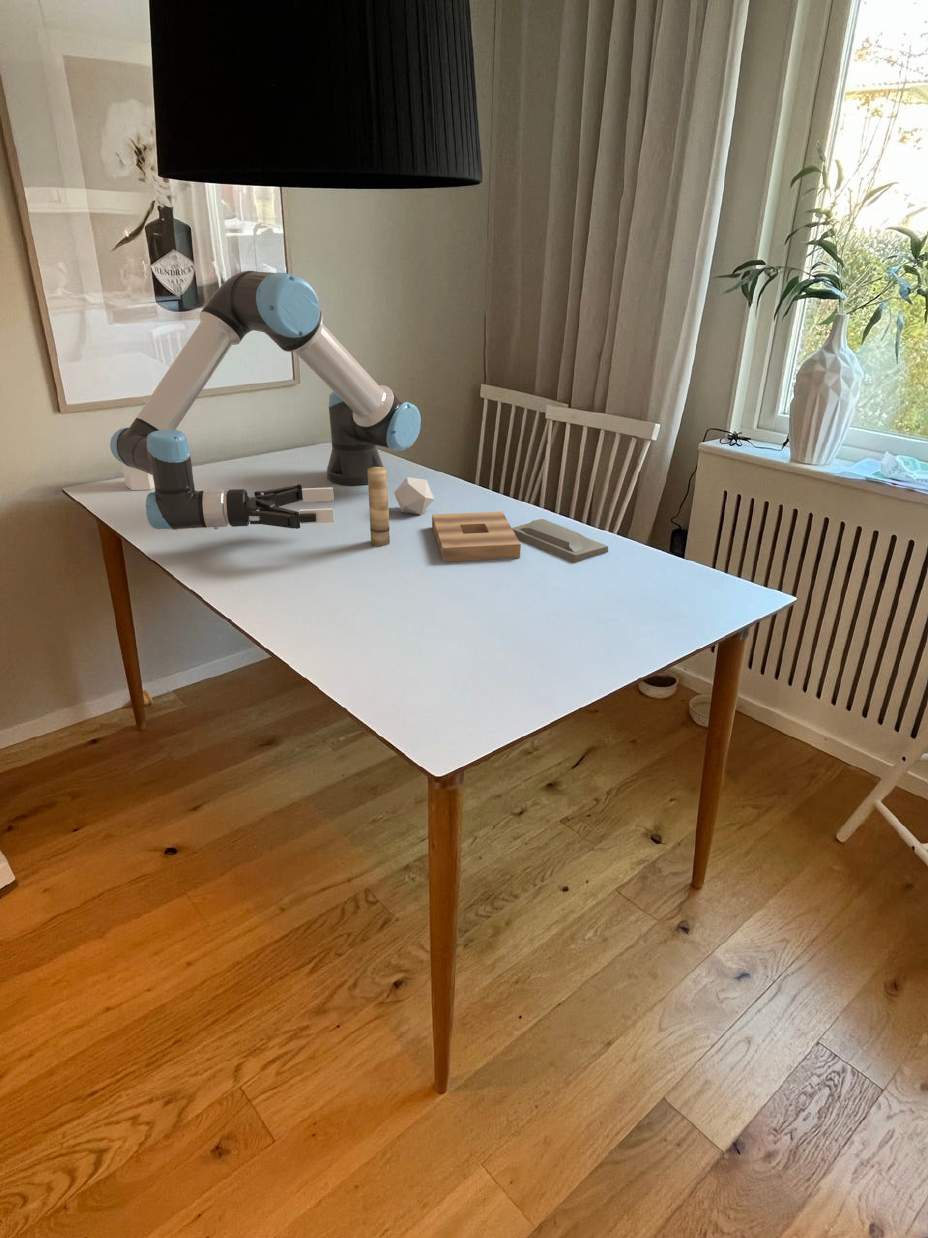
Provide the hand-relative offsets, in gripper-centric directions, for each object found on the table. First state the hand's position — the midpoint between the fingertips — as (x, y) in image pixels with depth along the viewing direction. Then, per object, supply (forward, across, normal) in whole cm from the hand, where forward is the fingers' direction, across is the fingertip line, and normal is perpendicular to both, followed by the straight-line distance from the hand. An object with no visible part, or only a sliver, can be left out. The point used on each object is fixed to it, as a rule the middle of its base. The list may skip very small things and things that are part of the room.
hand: (333, 504), depth 165 cm
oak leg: (+9, 0, -9) cm, 13 cm away
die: (+18, -19, -9) cm, 28 cm away
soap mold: (+47, +5, -10) cm, 48 cm away
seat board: (+29, +2, -9) cm, 31 cm away
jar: (-49, -47, -9) cm, 68 cm away
